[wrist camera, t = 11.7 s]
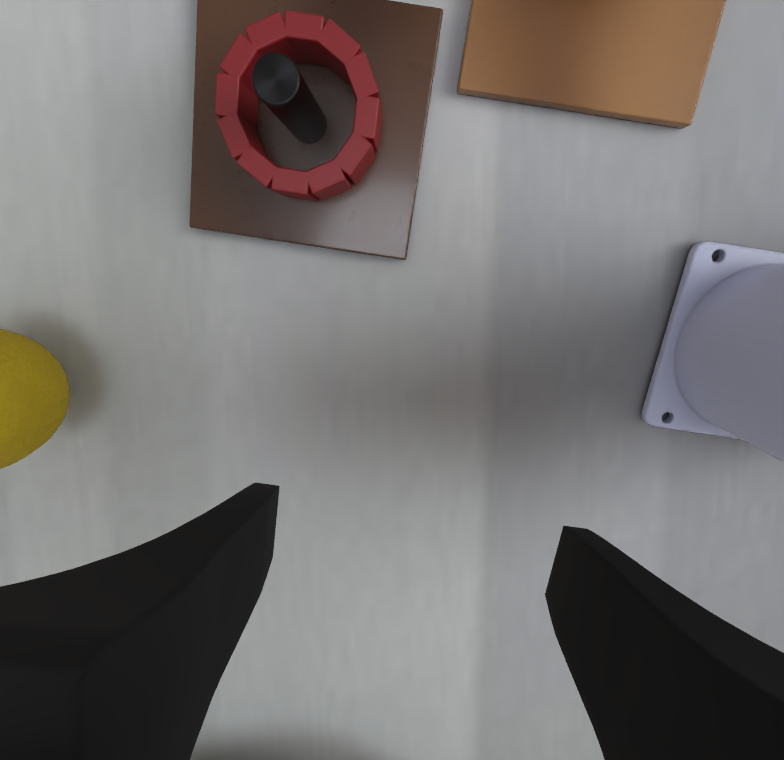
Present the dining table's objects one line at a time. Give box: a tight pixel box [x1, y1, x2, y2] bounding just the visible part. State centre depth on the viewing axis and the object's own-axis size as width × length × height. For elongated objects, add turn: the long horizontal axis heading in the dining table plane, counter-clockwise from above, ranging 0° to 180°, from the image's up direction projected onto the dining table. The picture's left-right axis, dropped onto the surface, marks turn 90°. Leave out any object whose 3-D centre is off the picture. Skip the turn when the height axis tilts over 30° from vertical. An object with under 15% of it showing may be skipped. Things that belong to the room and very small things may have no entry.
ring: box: [215, 10, 382, 201], centre depth 17 cm, size 6×6×2 cm
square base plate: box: [190, 0, 443, 260], centre depth 16 cm, size 9×9×6 cm
